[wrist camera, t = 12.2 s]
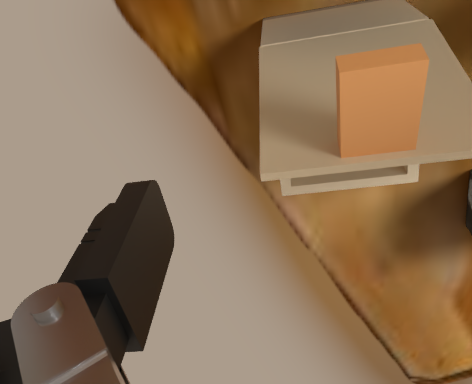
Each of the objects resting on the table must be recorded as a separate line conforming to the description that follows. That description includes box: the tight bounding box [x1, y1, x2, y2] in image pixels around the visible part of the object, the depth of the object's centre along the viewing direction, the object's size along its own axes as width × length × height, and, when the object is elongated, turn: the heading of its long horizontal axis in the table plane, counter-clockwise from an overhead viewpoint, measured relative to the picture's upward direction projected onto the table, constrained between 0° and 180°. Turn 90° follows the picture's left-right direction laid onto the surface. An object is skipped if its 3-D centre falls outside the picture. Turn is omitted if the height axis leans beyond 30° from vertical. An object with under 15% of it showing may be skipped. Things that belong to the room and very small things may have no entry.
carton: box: [260, 0, 429, 196], centre depth 41 cm, size 13×15×10 cm
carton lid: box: [259, 19, 472, 181], centre depth 26 cm, size 13×14×6 cm
